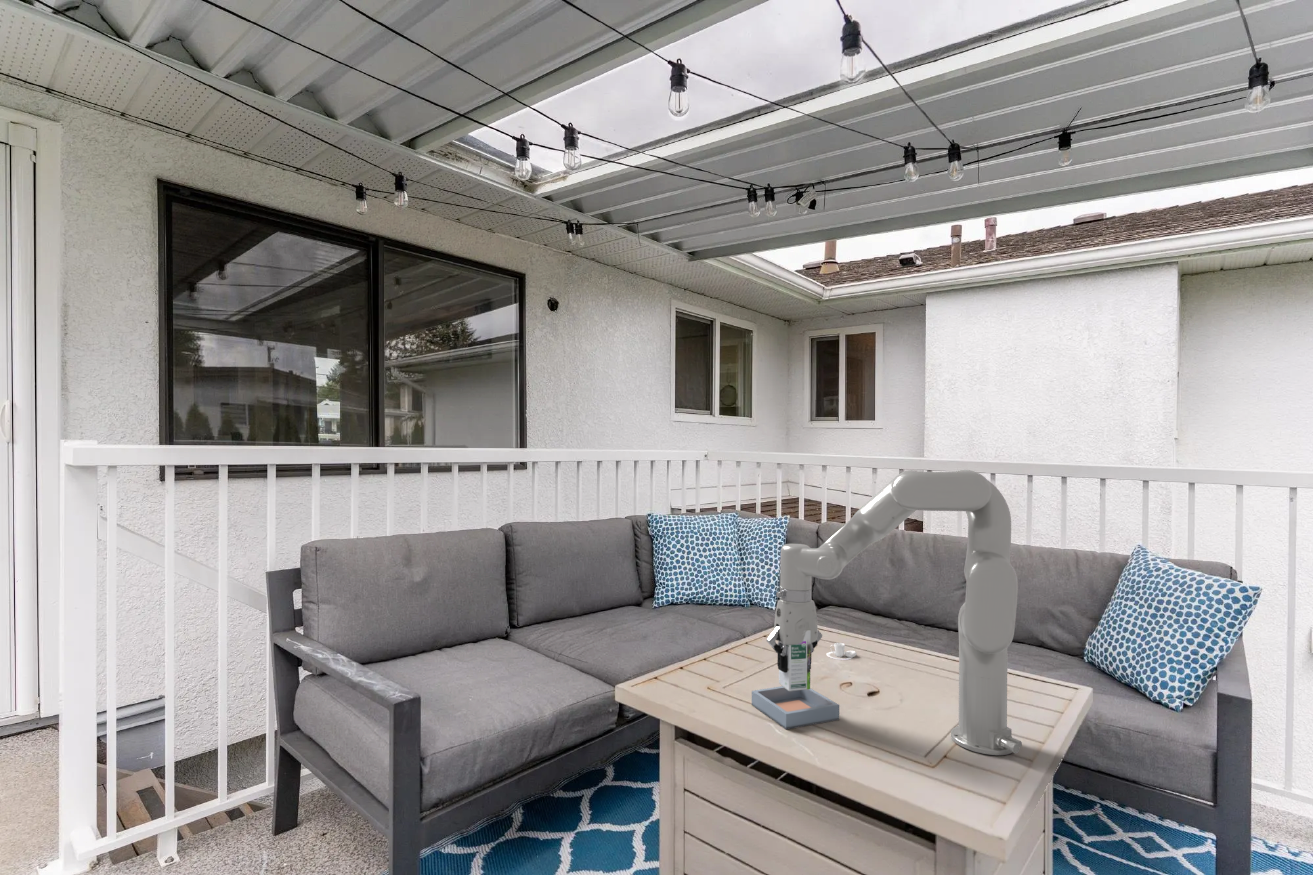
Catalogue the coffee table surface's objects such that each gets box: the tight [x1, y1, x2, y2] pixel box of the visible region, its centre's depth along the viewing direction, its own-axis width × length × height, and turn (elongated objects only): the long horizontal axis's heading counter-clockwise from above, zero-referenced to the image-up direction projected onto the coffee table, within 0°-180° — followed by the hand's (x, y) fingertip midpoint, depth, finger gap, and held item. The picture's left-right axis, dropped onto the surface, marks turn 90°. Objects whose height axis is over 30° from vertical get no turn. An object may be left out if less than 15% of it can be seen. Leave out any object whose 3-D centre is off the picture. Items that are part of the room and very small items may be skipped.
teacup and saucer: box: [825, 642, 857, 661], centre depth 199 cm, size 9×8×4 cm
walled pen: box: [751, 685, 840, 730], centre depth 156 cm, size 15×15×4 cm
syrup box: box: [778, 630, 811, 691], centre depth 156 cm, size 6×6×14 cm
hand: (794, 668), depth 156 cm, fingers closed on syrup box, 6 cm apart
